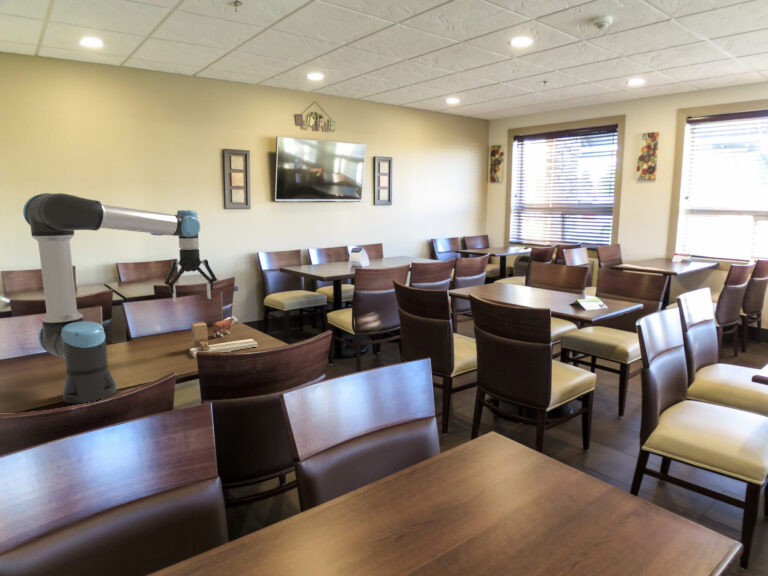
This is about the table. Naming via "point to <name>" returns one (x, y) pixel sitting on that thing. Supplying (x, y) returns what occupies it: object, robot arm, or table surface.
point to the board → (226, 346)
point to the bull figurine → (223, 325)
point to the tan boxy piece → (200, 335)
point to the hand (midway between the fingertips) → (192, 299)
